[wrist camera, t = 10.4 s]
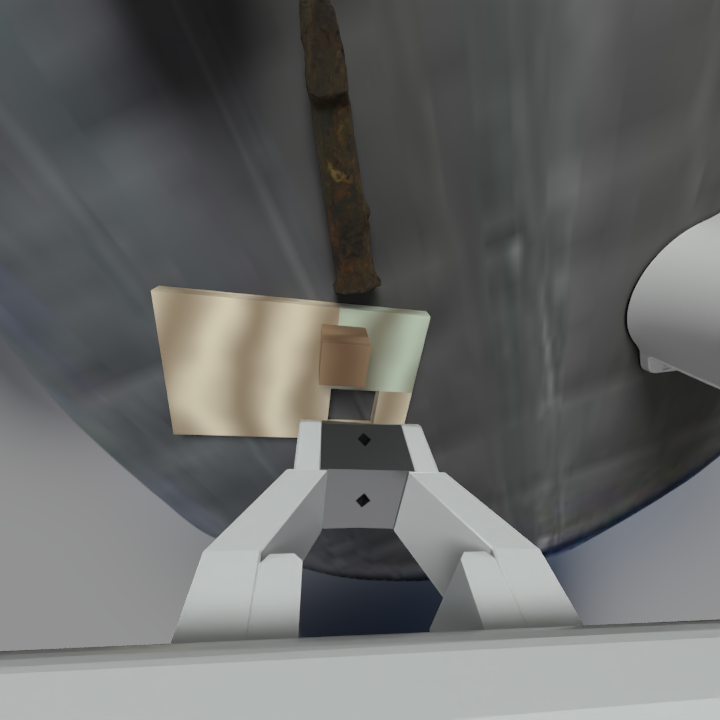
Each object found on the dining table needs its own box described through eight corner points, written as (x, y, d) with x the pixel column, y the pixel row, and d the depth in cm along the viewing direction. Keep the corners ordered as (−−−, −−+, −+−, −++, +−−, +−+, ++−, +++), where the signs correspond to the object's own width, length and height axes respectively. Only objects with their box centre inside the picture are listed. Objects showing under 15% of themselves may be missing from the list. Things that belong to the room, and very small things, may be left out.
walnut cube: (365, 327, 30) (371, 346, 27) (359, 365, 32) (364, 387, 29) (321, 324, 30) (322, 342, 26) (318, 362, 31) (318, 385, 28)
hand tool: (376, 281, 30) (385, 295, 26) (333, 286, 30) (335, 302, 26) (354, -8, 21) (362, -55, 17) (292, -3, 21) (286, -49, 17)
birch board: (425, 311, 32) (430, 316, 30) (397, 432, 38) (400, 440, 37) (158, 285, 28) (150, 290, 27) (179, 424, 35) (173, 434, 33)
